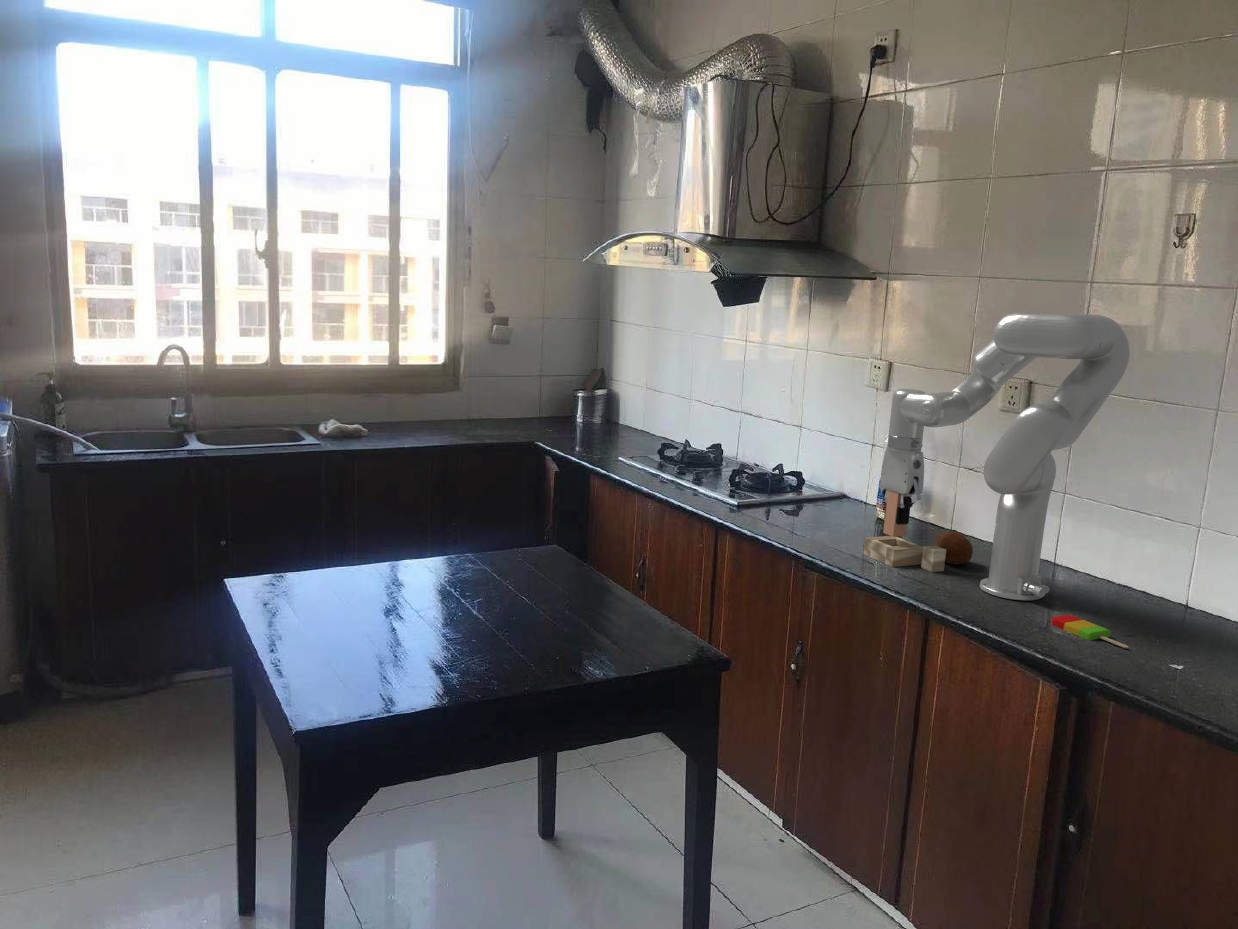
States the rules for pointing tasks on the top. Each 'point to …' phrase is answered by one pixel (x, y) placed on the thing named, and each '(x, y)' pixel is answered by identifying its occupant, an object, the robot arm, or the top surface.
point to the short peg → (933, 558)
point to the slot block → (893, 551)
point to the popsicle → (1083, 628)
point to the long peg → (893, 516)
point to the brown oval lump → (955, 547)
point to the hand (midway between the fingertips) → (896, 520)
